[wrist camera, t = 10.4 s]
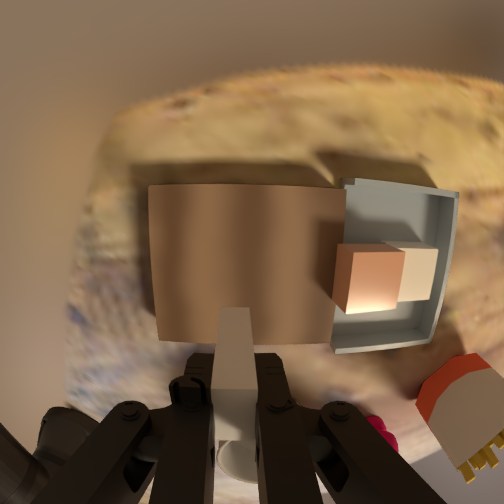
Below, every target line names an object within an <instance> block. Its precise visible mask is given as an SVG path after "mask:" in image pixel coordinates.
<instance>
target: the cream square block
mask: <svg viewBox="0 0 504 504" xmlns="http://www.w3.org/2000/svg"><path fill="white" fill-rule="evenodd" d="M381 244H388V245H391V246H393V247H395V248H398V249H400V250H402V251H405V252H406V253H405V260H404V266H403V273H402V279H401V284H400V290H399V295H398V300H397V302H401V301H416V300H429V298H430V293H431V288H432V284H433V279H434V273H435V268H436V262H437V256H438V249H437V248H435V247H432V246H430V245H428V244H425V243H423V242H405V241H381Z"/></svg>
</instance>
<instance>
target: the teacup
mask: <svg viewBox="0 0 504 504" xmlns="http://www.w3.org/2000/svg"><path fill="white" fill-rule="evenodd" d="M296 403H297V402H296ZM297 404H298V405H300V404H299V403H297ZM300 406H301V405H300ZM255 449H256V439H255V440H242V441H234V440H219V449H218V451H217V463H218V465H219V467H220V468H221V469H222V470H223V471H224V472H225V473H226V474H227V475H229V476H231V477H232V478H234V479H237V480H239V481H243V482H247V483H253V484H258V478H257V465H256V462H255Z"/></svg>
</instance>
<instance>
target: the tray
mask: <svg viewBox="0 0 504 504" xmlns="http://www.w3.org/2000/svg"><path fill="white" fill-rule="evenodd" d="M341 189H347V195H346V212H345V226H344V238H343V244H381V241H405V242H423V243H425V244H428V245H430V246H432V247H435V248H437V249H438V256H437V262H436V268H435V273H434V279H433V284H432V288H431V293H430V298H429V300H416V301H401V302H397V305H396V309H389V310H381V311H372V312H364V313H354V314H345V313H344V312H343V311H342V310H341V309H340V308H339V307H338V306H337V305H336V308H335V315H334V322H333V328H332V334H331V340H330V345H331V347H332V349H333V351H334V353H335V354H342V353H355V352H366V351H375V350H384V349H392V348H400V347H407V346H414V345H421V344H427V343H431V342H432V339H433V336H434V332H435V329H436V325H437V322H438V318H439V314H440V311H441V307H442V303H443V299H444V294H445V290H446V285H447V280H448V276H449V270H450V265H451V259H452V253H453V247H454V240H455V232H456V224H457V214H458V202H459V192H454V191H448V190H443V189H437V188H431V187H424V186H418V185H411V184H404V183H396V182H388V181H380V180H371V179H362V178H341Z"/></svg>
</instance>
